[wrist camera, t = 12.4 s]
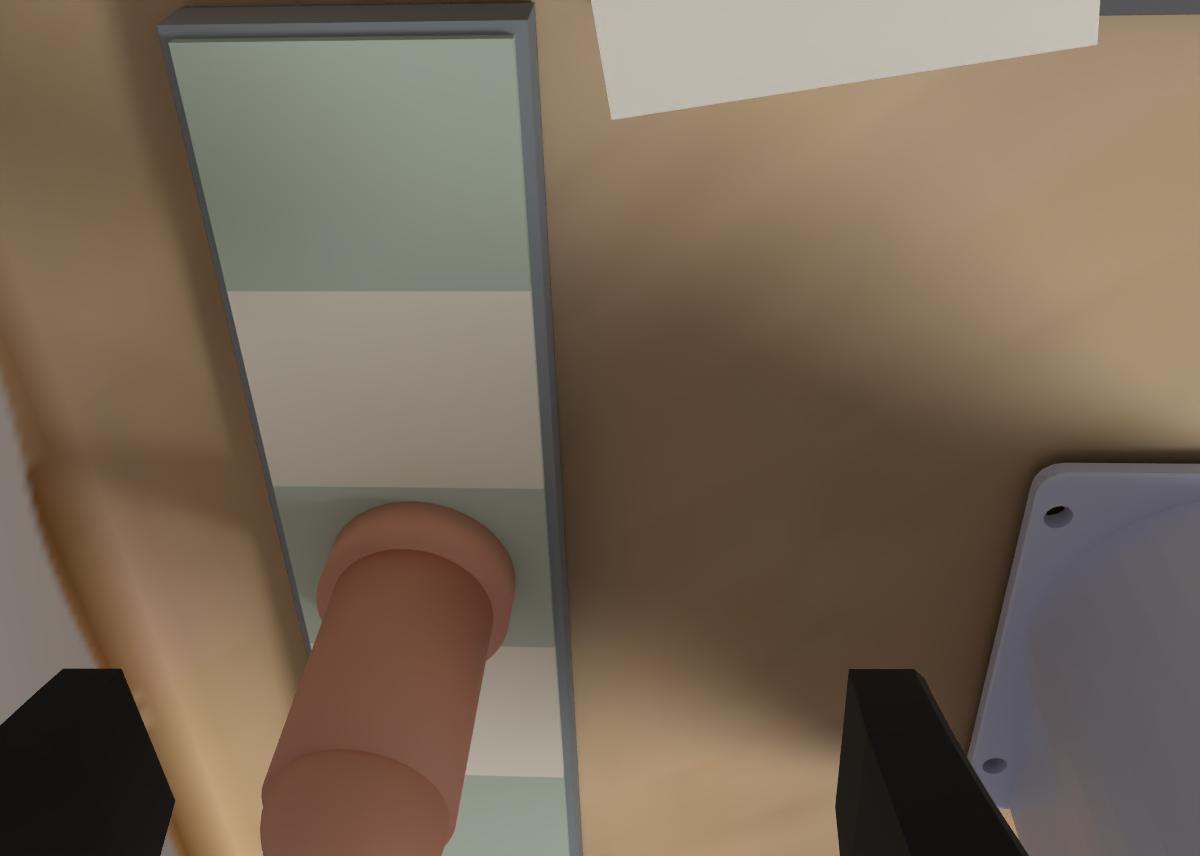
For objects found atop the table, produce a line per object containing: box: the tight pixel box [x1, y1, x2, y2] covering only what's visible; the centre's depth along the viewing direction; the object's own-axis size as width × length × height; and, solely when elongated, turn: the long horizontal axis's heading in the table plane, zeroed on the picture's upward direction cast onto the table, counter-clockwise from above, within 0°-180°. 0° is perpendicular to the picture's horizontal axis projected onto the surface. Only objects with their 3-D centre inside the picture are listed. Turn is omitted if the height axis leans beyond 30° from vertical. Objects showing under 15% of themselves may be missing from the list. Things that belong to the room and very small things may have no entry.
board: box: [157, 2, 583, 856], centre depth 23 cm, size 24×5×1 cm, turn 2°
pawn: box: [260, 501, 516, 856], centre depth 19 cm, size 4×4×7 cm
